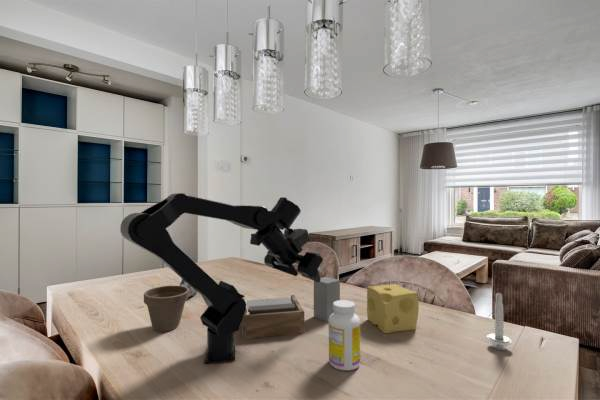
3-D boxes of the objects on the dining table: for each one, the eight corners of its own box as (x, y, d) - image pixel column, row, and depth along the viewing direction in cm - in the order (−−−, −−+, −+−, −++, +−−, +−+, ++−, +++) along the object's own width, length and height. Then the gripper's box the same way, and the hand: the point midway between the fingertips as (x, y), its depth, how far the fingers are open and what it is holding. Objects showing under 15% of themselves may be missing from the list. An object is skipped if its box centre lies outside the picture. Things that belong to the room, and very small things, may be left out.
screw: (514, 348, 72) (506, 354, 70) (492, 341, 76) (483, 346, 73) (514, 293, 72) (506, 297, 69) (492, 288, 76) (483, 291, 73)
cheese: (384, 334, 80) (384, 296, 80) (365, 319, 91) (365, 285, 91) (419, 330, 83) (419, 292, 83) (396, 315, 93) (396, 282, 93)
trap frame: (304, 332, 81) (304, 311, 81) (242, 338, 78) (242, 316, 78) (293, 313, 95) (293, 294, 95) (241, 317, 92) (241, 298, 92)
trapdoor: (296, 317, 83) (296, 307, 83) (248, 321, 80) (248, 310, 80) (289, 303, 94) (289, 294, 94) (246, 306, 91) (246, 297, 91)
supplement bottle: (356, 355, 69) (356, 298, 69) (363, 371, 63) (363, 308, 63) (326, 355, 69) (326, 298, 69) (330, 372, 63) (330, 309, 63)
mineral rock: (186, 302, 106) (186, 272, 106) (161, 298, 109) (161, 270, 109) (209, 291, 118) (209, 265, 118) (186, 289, 121) (186, 263, 121)
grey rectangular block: (327, 321, 88) (327, 283, 88) (313, 316, 92) (313, 279, 92) (339, 317, 92) (339, 280, 92) (326, 312, 96) (326, 276, 96)
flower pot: (198, 324, 87) (197, 288, 87) (161, 340, 77) (161, 299, 77) (171, 316, 93) (171, 282, 93) (134, 330, 83) (134, 292, 83)
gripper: (317, 221, 77) (346, 259, 84) (272, 218, 91) (300, 251, 98) (293, 257, 71) (326, 294, 79) (249, 247, 85) (281, 280, 93)
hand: (307, 278), depth 87 cm, fingers open, 9 cm apart
